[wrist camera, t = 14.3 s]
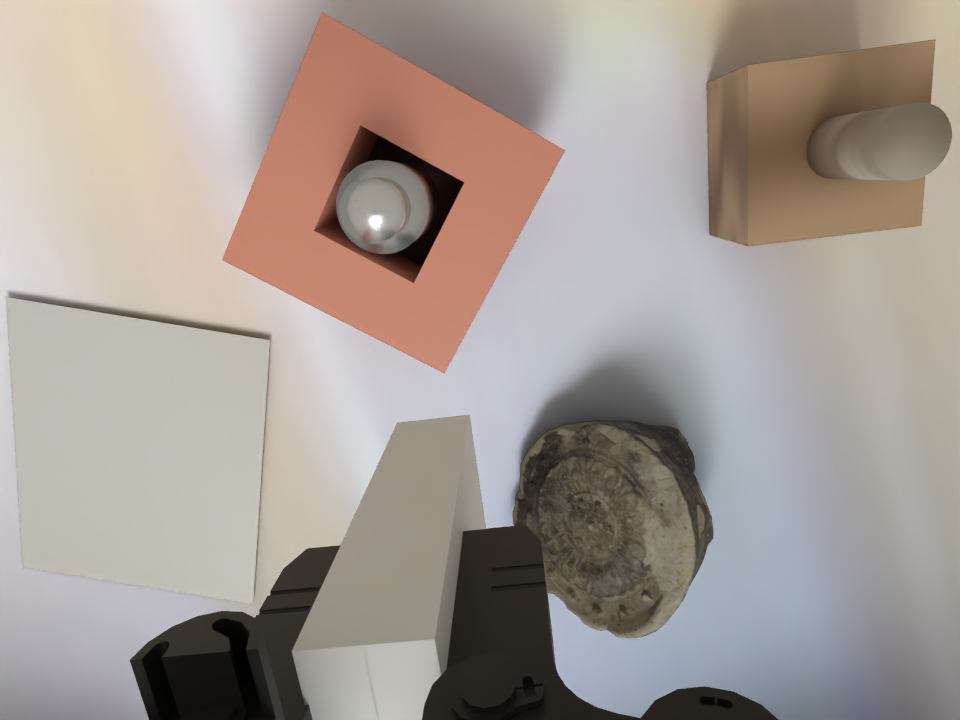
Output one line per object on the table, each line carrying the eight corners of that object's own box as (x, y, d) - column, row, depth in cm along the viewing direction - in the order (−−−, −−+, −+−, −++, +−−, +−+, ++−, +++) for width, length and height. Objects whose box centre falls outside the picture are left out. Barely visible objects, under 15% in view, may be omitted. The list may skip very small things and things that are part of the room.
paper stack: (-125, 537, 38) (-136, 544, 37) (-186, 99, 31) (-201, 97, 30) (257, 596, 38) (252, 604, 38) (284, 177, 31) (280, 177, 30)
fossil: (488, 416, 34) (601, 477, 25) (625, 373, 37) (766, 412, 28) (517, 591, 36) (628, 703, 27) (641, 535, 40) (775, 618, 31)
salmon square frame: (451, 347, 30) (444, 373, 26) (259, 248, 29) (222, 260, 25) (555, 153, 27) (565, 150, 23) (348, 35, 26) (322, 12, 22)
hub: (489, 261, 32) (485, 299, 22) (354, 277, 32) (292, 322, 23) (472, 114, 30) (458, 87, 20) (328, 134, 30) (248, 116, 21)
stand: (855, 217, 30) (1013, 237, 21) (709, 234, 31) (800, 261, 22) (862, 61, 29) (1039, 7, 19) (706, 83, 29) (805, 39, 20)
